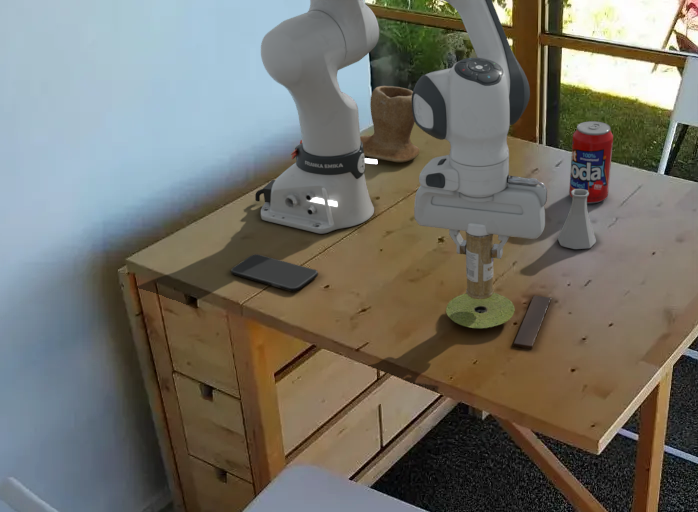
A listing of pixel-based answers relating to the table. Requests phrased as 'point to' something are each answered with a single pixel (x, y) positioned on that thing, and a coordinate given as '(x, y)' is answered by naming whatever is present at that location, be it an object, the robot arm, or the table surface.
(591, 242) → the flask
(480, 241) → the sprinkles bottle
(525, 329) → the walnut strip
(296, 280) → the smartphone
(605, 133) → the soda can
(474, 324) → the green flat disc
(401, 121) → the stone cup
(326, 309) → the table surface
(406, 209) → the table surface
